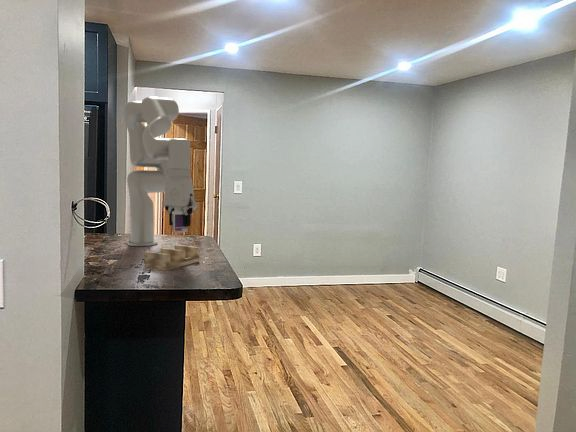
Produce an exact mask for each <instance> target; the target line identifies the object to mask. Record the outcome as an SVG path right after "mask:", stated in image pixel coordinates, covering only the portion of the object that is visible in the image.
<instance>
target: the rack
mask: <svg viewBox="0 0 576 432" xmlns="http://www.w3.org/2000/svg"><path fill="white" fill-rule="evenodd" d="M198 262H200V247H199V246H192V245H182V244H174V248H170V247H169V248H168V247H161V248H160V251H159V252H155V251H148V250H147V251H144V268H151V269H155V270H163V271H171V270H174V269H178V268H181V266H182V267H185V266H188V265H191V264H195V263H198Z"/></svg>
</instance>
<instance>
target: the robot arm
mask: <svg viewBox="0 0 576 432" xmlns="http://www.w3.org/2000/svg"><path fill="white" fill-rule="evenodd" d="M179 113H180V110H179V105H178V103H177V101H176V100H175V99H173V98H169V97H160V96H159V97H158V96H147V97H144V98H143V99H142V100H133V101H128V102H127V103H125V104H124V108H123V119H124V123H125V125H126V126H125V127H126V128H127V131H128V140H129V143H128V144H129V158H130V164H131V165H132V166H134V167H138V168H155V169H156V170H148V169H147V170H146V169H145V170H143V169H142V170H139V169H138V170H134V171H131V172H129V174H128V175H127V178H126V180H127V182H126V183H127V187H128V194H129V195H128V196H129V210H130V212H129V213H130V216H129V217H130V219H129V220H130V232H128V233H127V234H125V236H124V237H125V238H126V239H128V240H127V241H126V245H128V246H129V247H130V246H131V247H150V246H155V245H158V242H159V241H158V240H157V239H155V235H154V233H155V232H154V230H155V229H154V228H155V225H154V224H155V223H154V222H155V220H154V219H155V217H154V216H155V215H154V213H155V212H154V201H153V200H152V197H150V196H149V194H151V193H156V194H157V193H158V194H159V193H164V195H163V197H164V198H163V201H162V206H163V207H164V208H165V211H166V212H167V214H168V216H169V217H168V219H169V221H168V223H169V226H172V212H173V211H174V207H183V210H184V214H185V215H183V226H184V227H186V226H188V227H190V226H191V216H192V215H193V212H194V211H195V210H196V209H197V208H198V206H199V204H198V203H197V201H196V200H195V192H194V184H193V180H192V179H193V178H191V141H190V139H187V138H181V137H180V138H178V137H175V138H174V137H173V138H166V137H164V138H163V137H160V136H162V135H165V134H167V133H168V132H169V131H170V129H171V127H172V122H173V121H175V120H176V119H177V118H178V117H179ZM144 123H146V124H147V125H145V124H144Z"/></svg>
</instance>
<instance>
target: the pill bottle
mask: <svg viewBox="0 0 576 432" xmlns="http://www.w3.org/2000/svg"><path fill="white" fill-rule="evenodd" d="M183 215H185V214H184V210H183V207H174V211H173V212H172V225H171V232H172V233H173V234H182V233H184V234H185V233H188V230H189V229H188V227H189V226H186V227H184V226H183Z"/></svg>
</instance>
